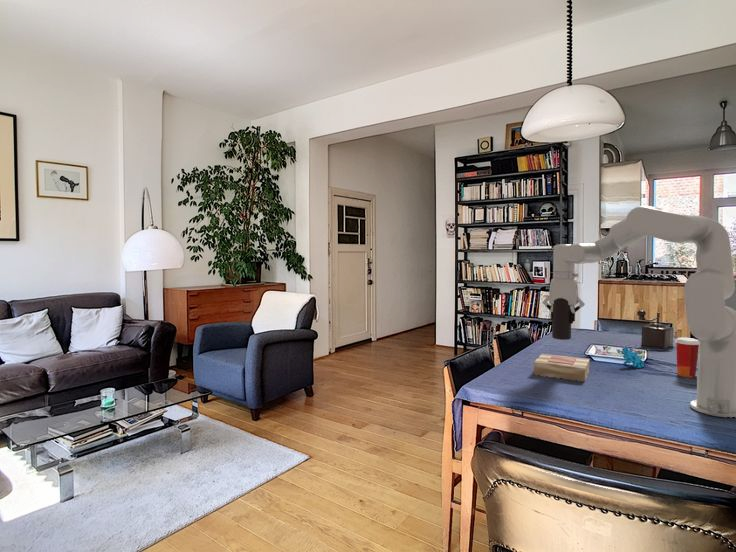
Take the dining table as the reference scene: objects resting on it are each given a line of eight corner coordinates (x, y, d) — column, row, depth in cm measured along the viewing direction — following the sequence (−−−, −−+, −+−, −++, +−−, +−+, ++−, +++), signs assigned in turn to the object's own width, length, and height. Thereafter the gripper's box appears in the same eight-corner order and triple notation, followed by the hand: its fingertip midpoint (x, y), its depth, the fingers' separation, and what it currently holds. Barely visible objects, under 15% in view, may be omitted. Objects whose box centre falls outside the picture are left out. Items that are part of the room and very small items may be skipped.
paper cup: (693, 373, 174) (694, 337, 173) (702, 378, 167) (703, 341, 166) (670, 372, 176) (671, 336, 175) (678, 377, 169) (679, 340, 168)
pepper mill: (649, 342, 230) (650, 307, 229) (673, 346, 221) (674, 309, 220) (633, 346, 222) (634, 310, 221) (658, 350, 213) (659, 312, 211)
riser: (584, 381, 165) (585, 367, 164) (533, 374, 174) (533, 361, 174) (589, 371, 178) (589, 358, 178) (541, 365, 188) (542, 352, 187)
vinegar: (567, 336, 179) (568, 286, 177) (573, 340, 172) (574, 288, 170) (549, 336, 179) (550, 286, 178) (555, 339, 172) (555, 288, 171)
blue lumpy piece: (632, 366, 179) (619, 345, 185) (622, 374, 183) (609, 353, 189) (651, 367, 183) (638, 346, 189) (641, 374, 187) (627, 354, 193)
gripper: (589, 276, 172) (588, 322, 173) (542, 275, 181) (541, 319, 183) (587, 277, 166) (586, 325, 167) (538, 276, 175) (537, 322, 176)
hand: (562, 321), depth 175 cm, fingers closed on vinegar, 5 cm apart
